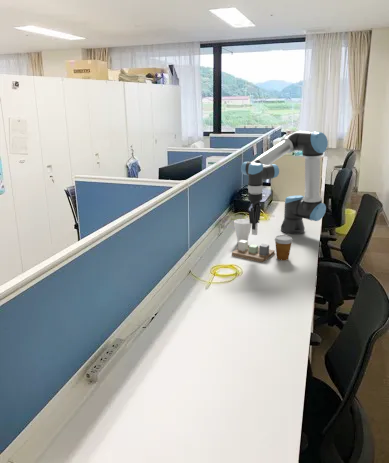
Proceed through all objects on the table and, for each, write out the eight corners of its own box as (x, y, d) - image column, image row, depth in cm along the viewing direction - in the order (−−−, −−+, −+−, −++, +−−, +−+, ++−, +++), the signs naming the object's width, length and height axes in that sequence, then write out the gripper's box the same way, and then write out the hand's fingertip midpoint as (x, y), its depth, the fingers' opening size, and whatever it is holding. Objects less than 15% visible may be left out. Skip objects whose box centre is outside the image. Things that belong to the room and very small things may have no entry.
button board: (244, 247, 241) (244, 244, 240) (274, 253, 231) (274, 250, 230) (231, 255, 229) (231, 252, 228) (263, 262, 219) (263, 259, 218)
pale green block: (251, 252, 232) (251, 244, 231) (258, 253, 230) (258, 245, 229) (248, 254, 229) (248, 246, 228) (254, 256, 227) (255, 247, 225)
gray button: (262, 252, 228) (262, 243, 227) (268, 253, 226) (269, 245, 225) (259, 254, 225) (259, 245, 224) (265, 255, 223) (266, 247, 221)
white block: (241, 247, 235) (241, 239, 234) (247, 249, 233) (248, 240, 232) (238, 249, 232) (238, 241, 231) (244, 251, 230) (244, 242, 228)
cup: (250, 239, 253) (251, 218, 249) (251, 245, 243) (252, 224, 239) (233, 239, 254) (234, 218, 250) (233, 245, 244) (234, 223, 240)
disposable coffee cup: (290, 255, 228) (291, 234, 224) (292, 261, 219) (293, 240, 215) (272, 255, 229) (273, 234, 225) (274, 261, 220) (275, 240, 216)
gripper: (254, 189, 226) (253, 229, 233) (243, 194, 216) (242, 236, 223) (266, 190, 222) (265, 232, 229) (256, 196, 212) (255, 239, 219)
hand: (254, 234), depth 226 cm, fingers closed
